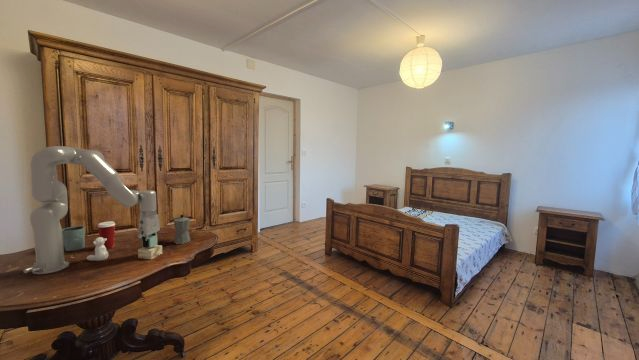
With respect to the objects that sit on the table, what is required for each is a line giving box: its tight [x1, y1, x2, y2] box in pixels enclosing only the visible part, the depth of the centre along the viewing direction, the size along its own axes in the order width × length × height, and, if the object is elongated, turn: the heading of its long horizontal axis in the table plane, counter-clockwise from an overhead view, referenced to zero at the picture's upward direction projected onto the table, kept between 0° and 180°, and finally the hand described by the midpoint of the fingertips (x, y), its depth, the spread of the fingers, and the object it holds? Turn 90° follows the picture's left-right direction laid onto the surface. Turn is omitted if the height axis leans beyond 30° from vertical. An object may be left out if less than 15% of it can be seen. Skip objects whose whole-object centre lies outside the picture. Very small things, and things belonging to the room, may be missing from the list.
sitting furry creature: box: [86, 236, 109, 262], centre depth 140 cm, size 10×9×12 cm
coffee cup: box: [97, 221, 116, 250], centre depth 155 cm, size 8×8×15 cm
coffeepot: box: [173, 214, 191, 245], centre depth 169 cm, size 15×9×18 cm, turn 27°
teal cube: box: [141, 234, 158, 248], centre depth 145 cm, size 5×5×5 cm
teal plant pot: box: [62, 225, 86, 252], centre depth 153 cm, size 10×10×12 cm
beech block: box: [137, 244, 163, 260], centre depth 146 cm, size 8×8×5 cm
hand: (149, 244), depth 146 cm, fingers closed on teal cube, 5 cm apart
